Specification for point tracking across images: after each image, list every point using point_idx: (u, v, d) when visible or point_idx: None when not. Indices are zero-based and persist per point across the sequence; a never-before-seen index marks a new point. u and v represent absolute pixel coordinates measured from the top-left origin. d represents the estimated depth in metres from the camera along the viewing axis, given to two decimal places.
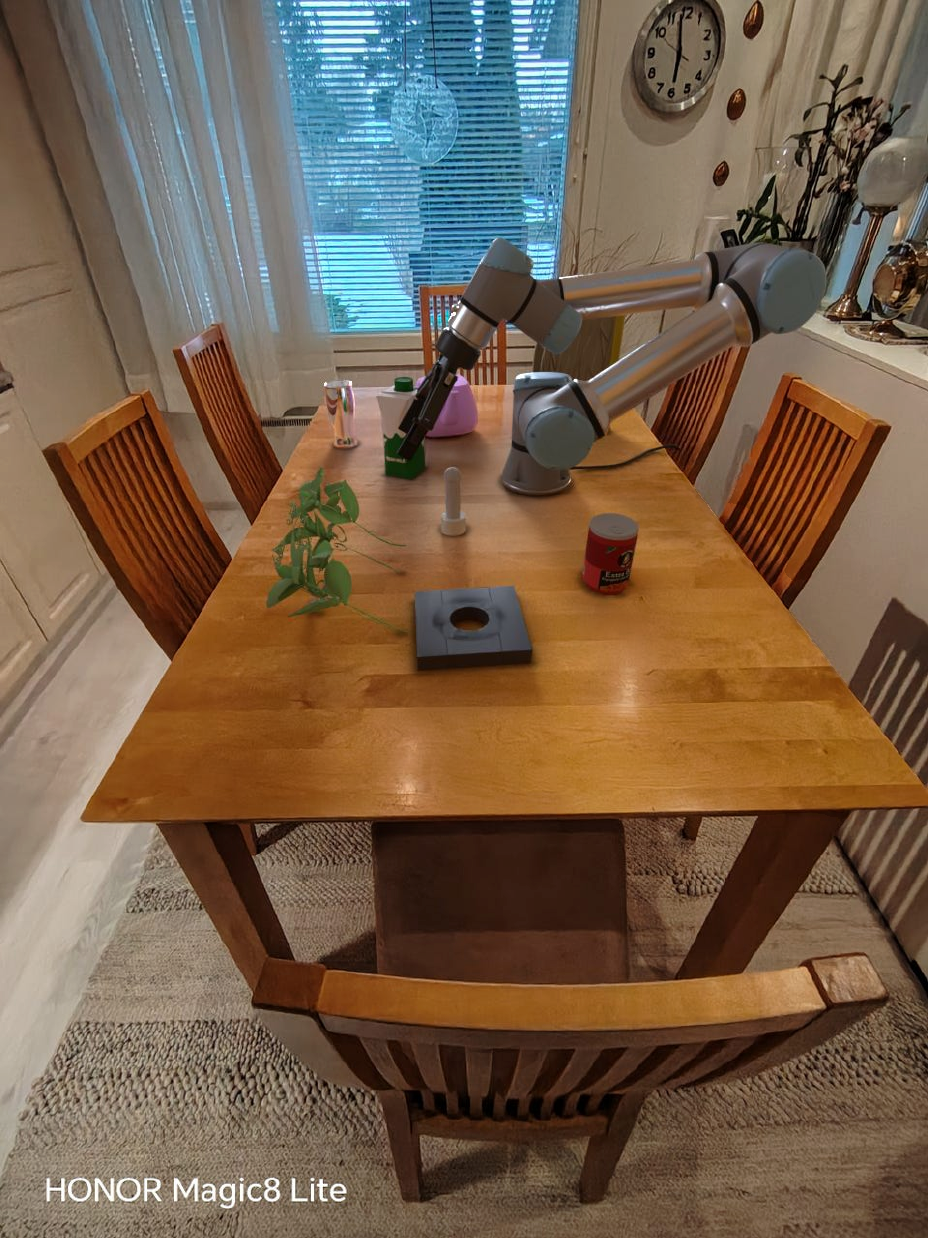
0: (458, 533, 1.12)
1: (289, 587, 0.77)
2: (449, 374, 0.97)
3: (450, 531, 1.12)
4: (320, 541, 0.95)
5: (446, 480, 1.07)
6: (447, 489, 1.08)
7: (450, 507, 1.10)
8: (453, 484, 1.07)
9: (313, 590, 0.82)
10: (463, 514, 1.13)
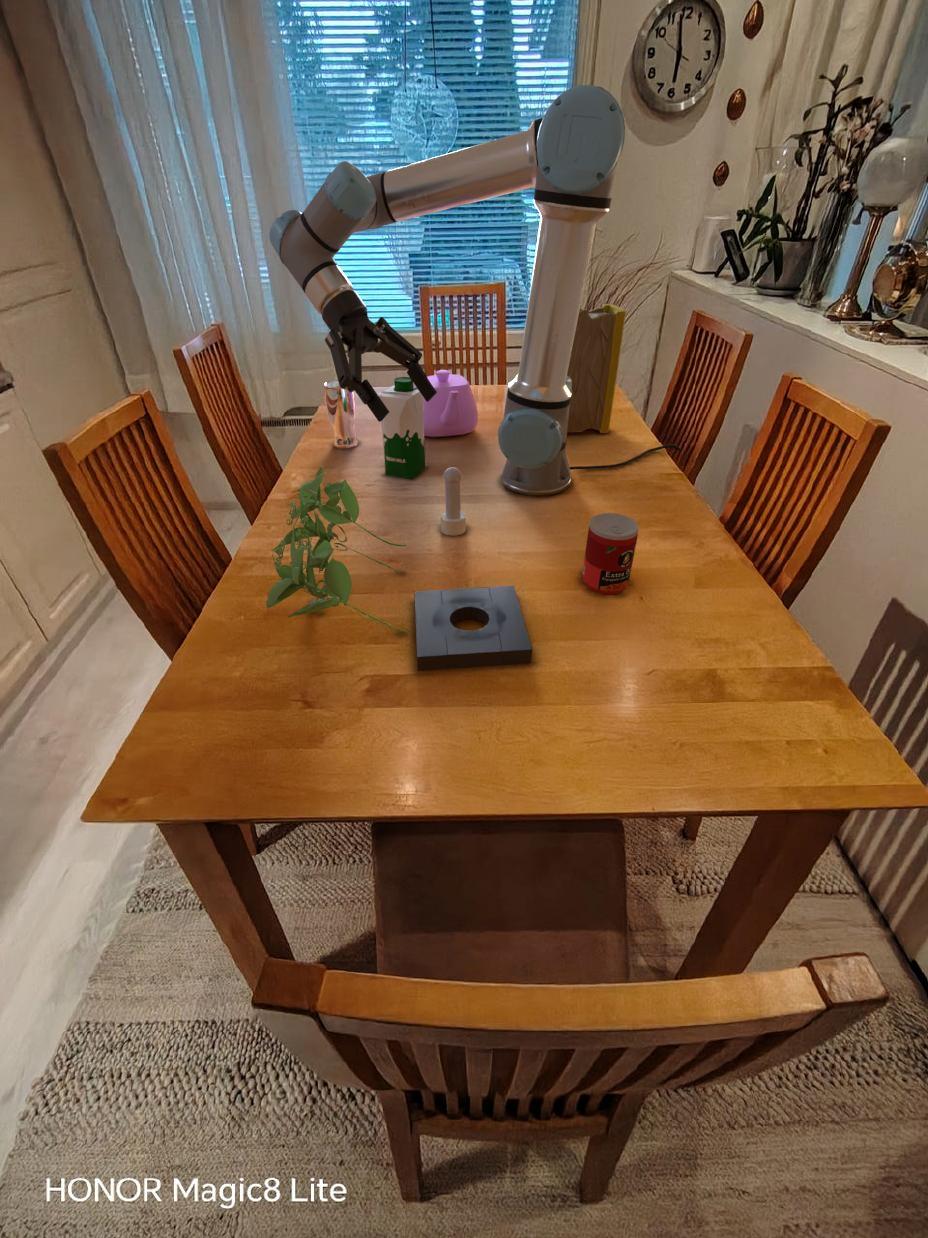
0: (458, 533, 1.12)
1: (289, 587, 0.77)
2: (327, 337, 0.99)
3: (450, 531, 1.12)
4: (320, 541, 0.95)
5: (446, 480, 1.07)
6: (447, 489, 1.08)
7: (450, 507, 1.10)
8: (453, 484, 1.07)
9: (313, 590, 0.82)
10: (463, 514, 1.13)
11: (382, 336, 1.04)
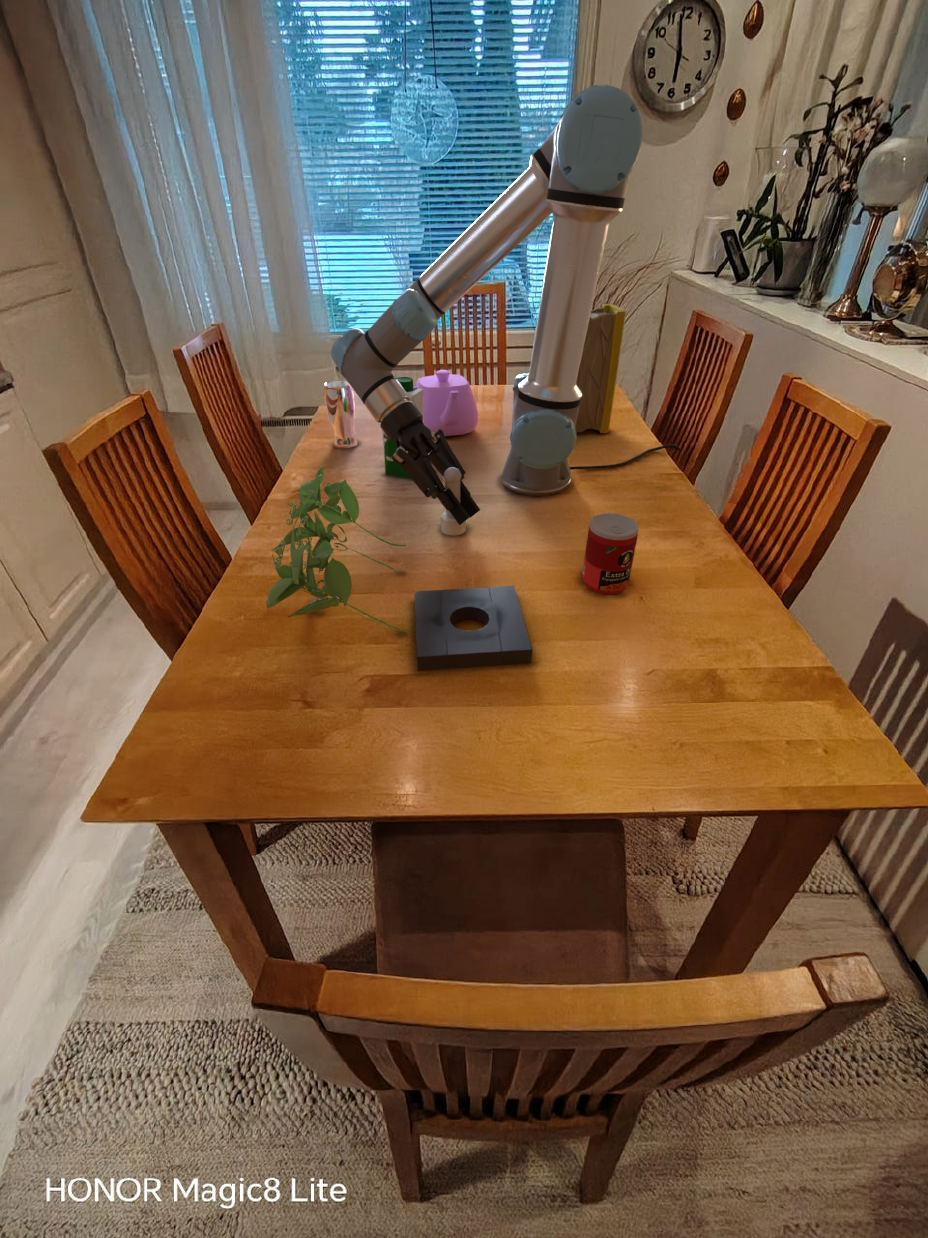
0: (458, 533, 1.12)
1: (289, 587, 0.77)
2: (395, 457, 1.04)
3: (450, 531, 1.12)
4: (320, 541, 0.95)
5: (446, 480, 1.07)
6: None
7: None
8: (453, 484, 1.07)
9: (313, 590, 0.82)
10: None
11: (434, 446, 1.08)
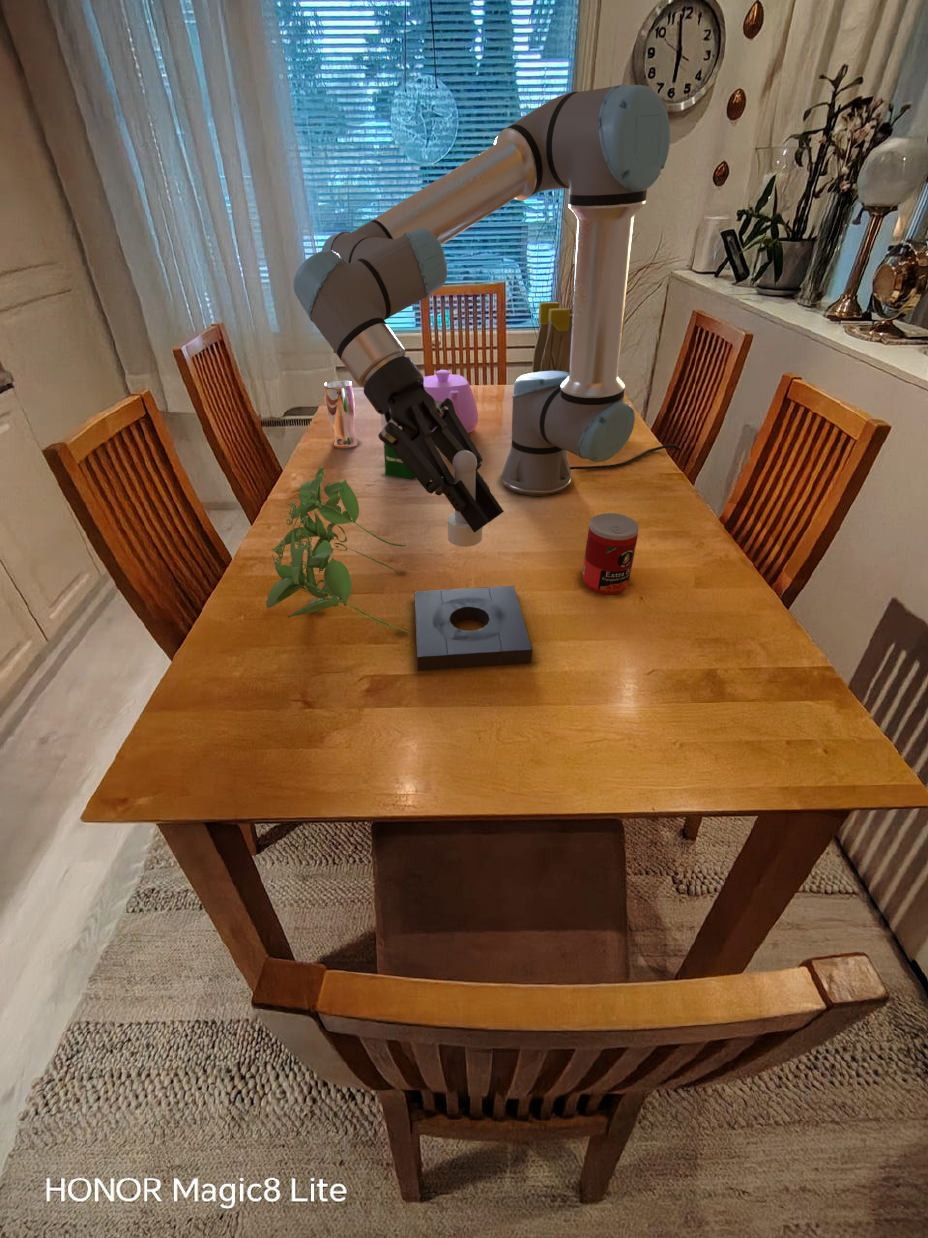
0: (472, 543, 0.81)
1: (289, 587, 0.77)
2: (383, 435, 0.73)
3: (461, 540, 0.80)
4: (320, 541, 0.95)
5: (456, 468, 0.75)
6: (457, 481, 0.76)
7: None
8: (466, 474, 0.75)
9: (313, 590, 0.82)
10: None
11: (439, 421, 0.77)
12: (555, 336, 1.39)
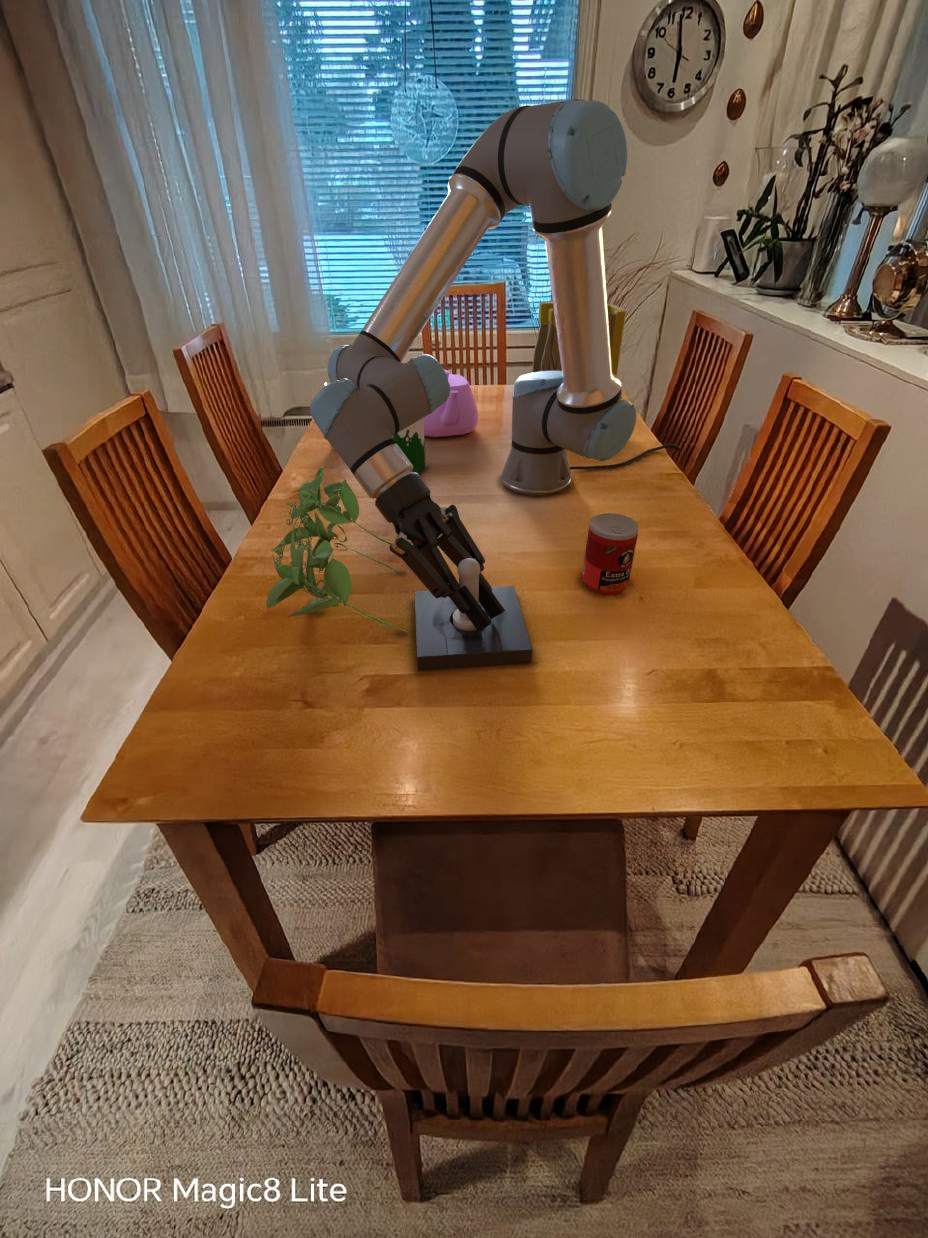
0: None
1: (289, 587, 0.77)
2: (393, 548, 0.79)
3: None
4: (320, 541, 0.95)
5: (461, 575, 0.81)
6: (462, 586, 0.83)
7: None
8: (470, 581, 0.82)
9: (313, 590, 0.82)
10: None
11: (445, 529, 0.83)
12: (555, 336, 1.39)
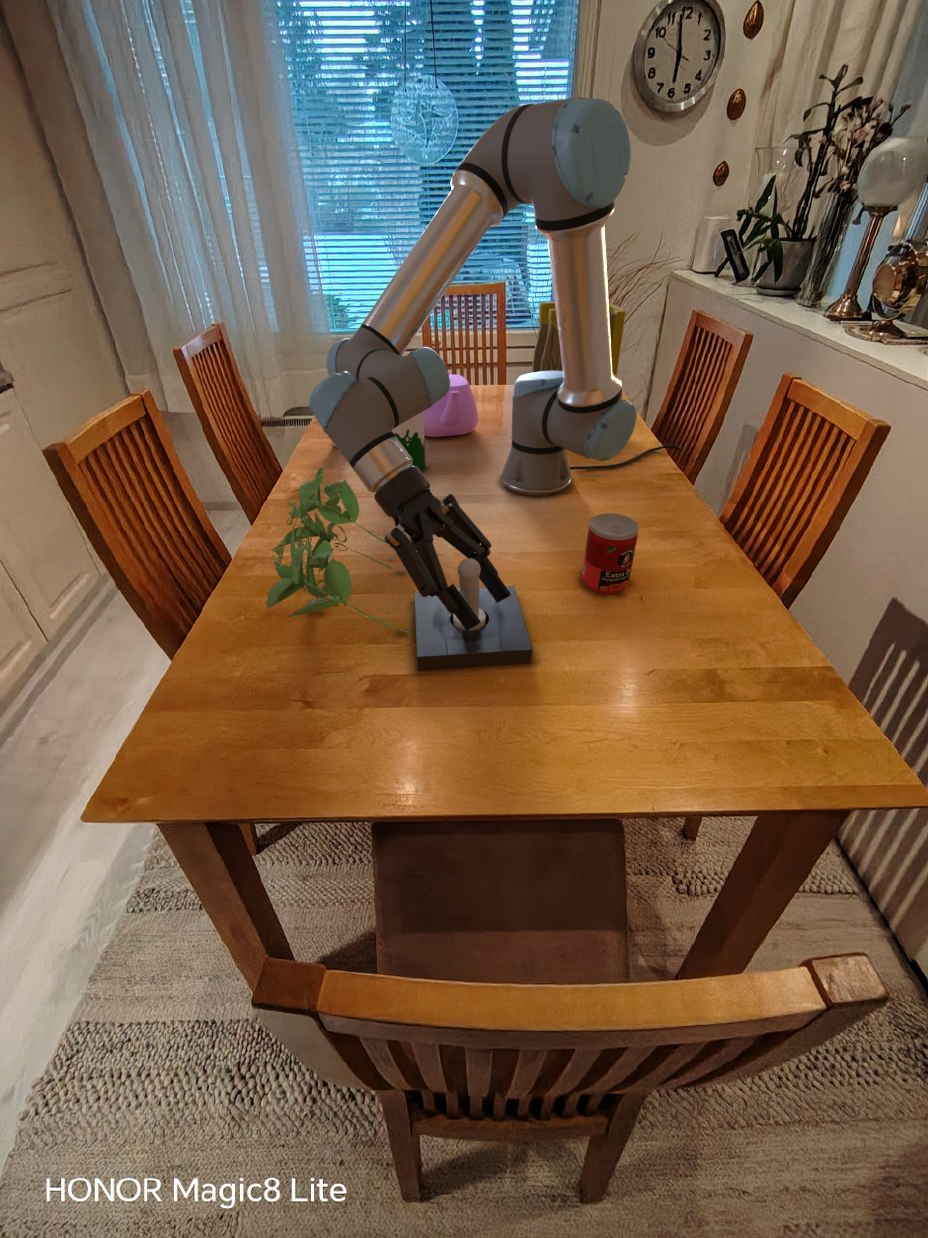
0: None
1: (289, 587, 0.77)
2: (388, 538, 0.78)
3: None
4: (320, 541, 0.95)
5: (461, 576, 0.82)
6: (462, 586, 0.83)
7: None
8: (470, 581, 0.82)
9: (313, 590, 0.82)
10: (482, 613, 0.87)
11: (447, 521, 0.83)
12: (555, 336, 1.39)
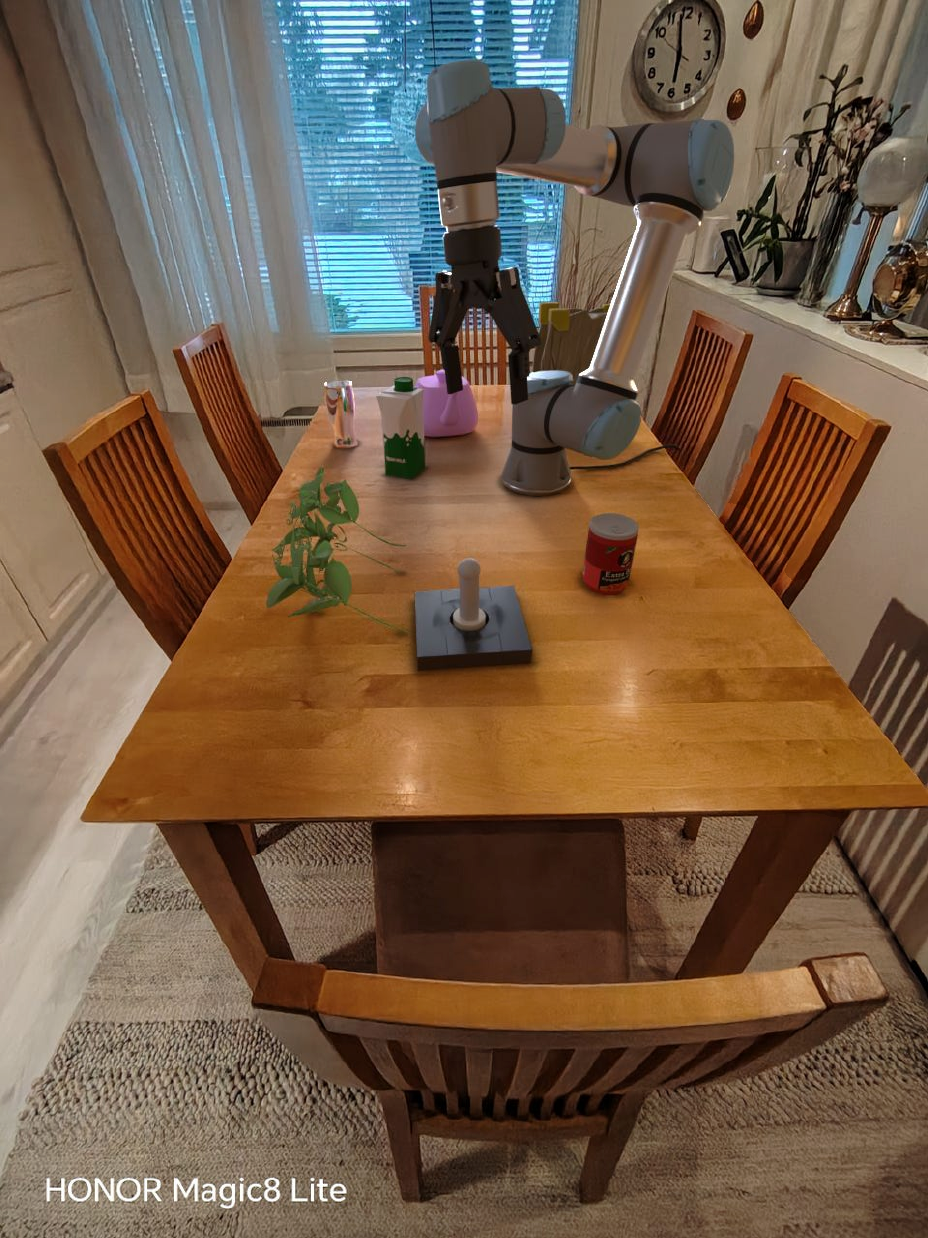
0: None
1: (289, 587, 0.77)
2: (510, 272, 0.74)
3: None
4: (320, 541, 0.95)
5: (461, 576, 0.82)
6: (462, 586, 0.83)
7: (466, 607, 0.85)
8: (470, 581, 0.82)
9: (313, 590, 0.82)
10: (482, 613, 0.87)
11: None
12: (555, 336, 1.39)
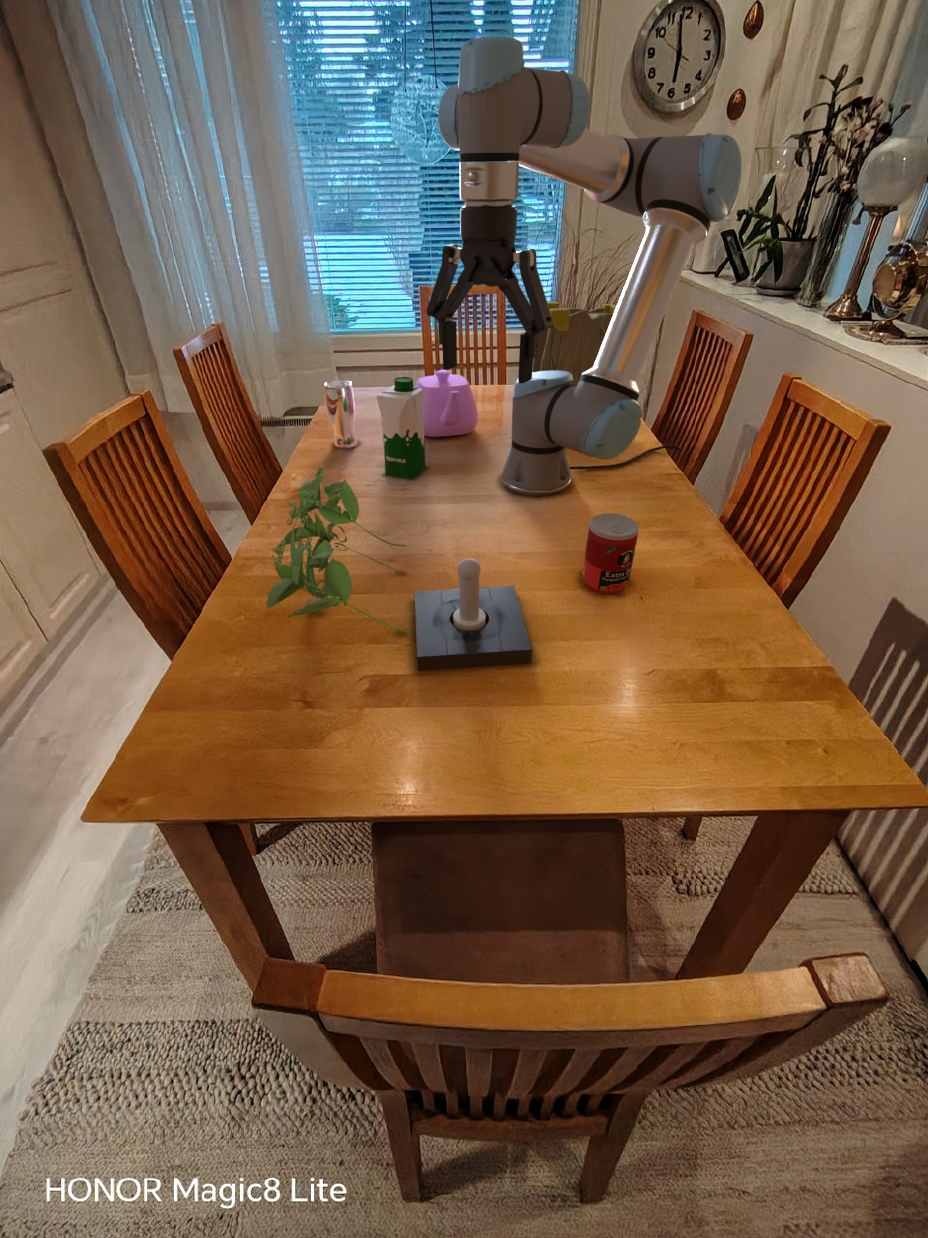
0: None
1: (289, 587, 0.77)
2: (530, 253, 0.77)
3: None
4: (320, 541, 0.95)
5: (461, 576, 0.82)
6: (462, 586, 0.83)
7: (466, 607, 0.85)
8: (470, 581, 0.82)
9: (313, 590, 0.82)
10: (482, 613, 0.87)
11: None
12: (555, 336, 1.39)
